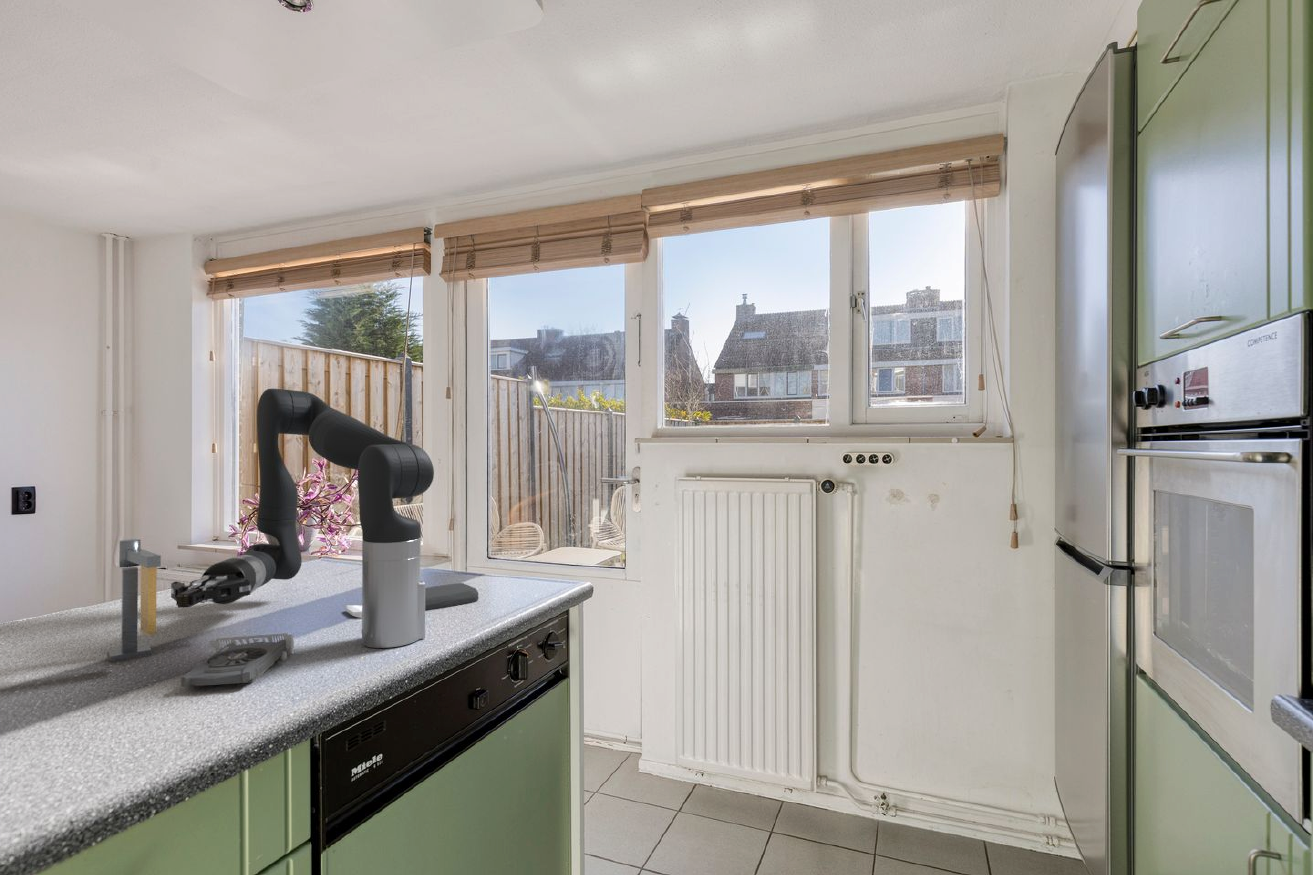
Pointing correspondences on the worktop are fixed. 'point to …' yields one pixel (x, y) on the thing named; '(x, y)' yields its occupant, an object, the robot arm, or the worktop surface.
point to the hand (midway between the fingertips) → (183, 601)
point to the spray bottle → (437, 597)
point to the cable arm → (143, 579)
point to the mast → (129, 620)
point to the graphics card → (240, 660)
